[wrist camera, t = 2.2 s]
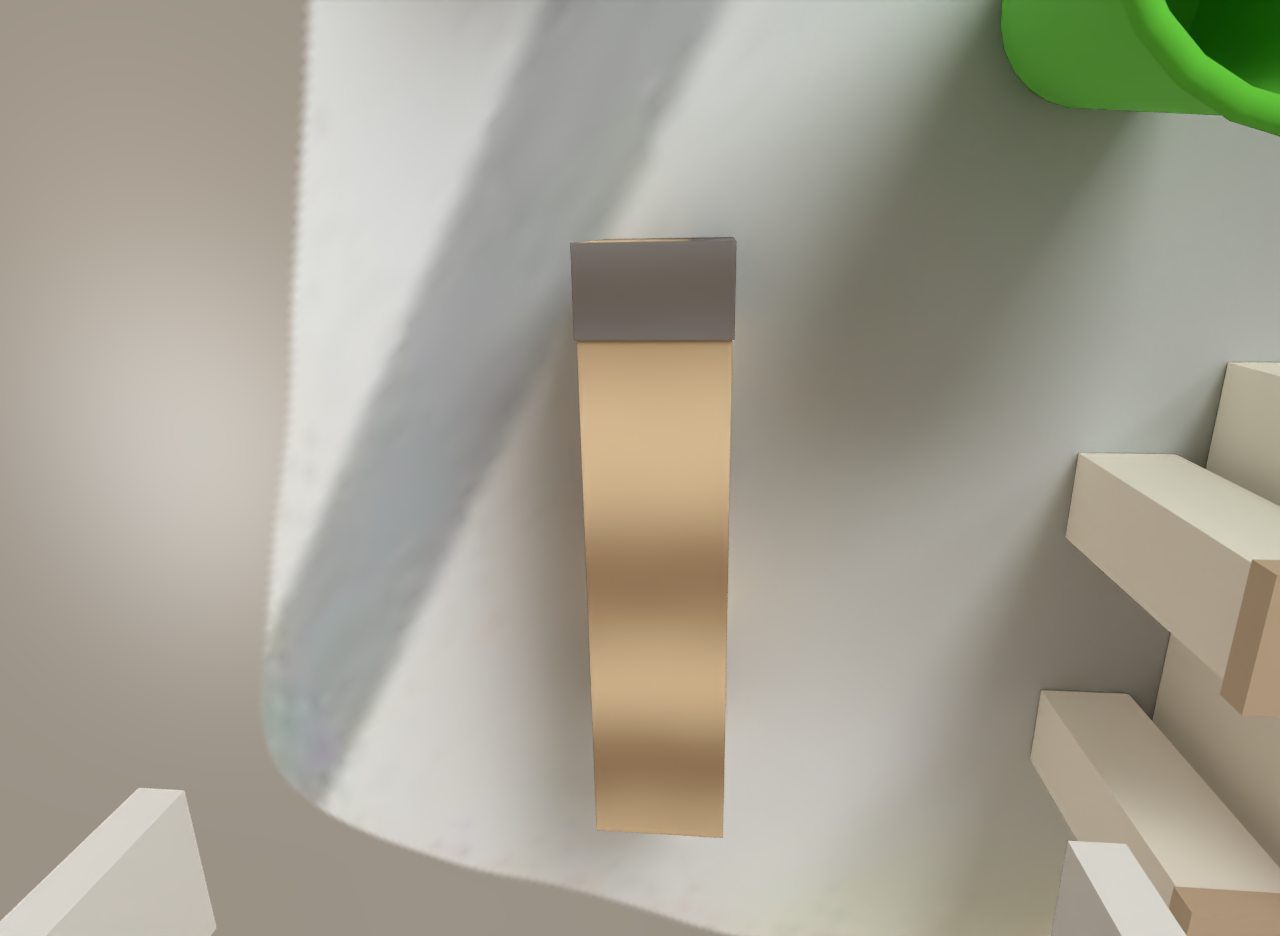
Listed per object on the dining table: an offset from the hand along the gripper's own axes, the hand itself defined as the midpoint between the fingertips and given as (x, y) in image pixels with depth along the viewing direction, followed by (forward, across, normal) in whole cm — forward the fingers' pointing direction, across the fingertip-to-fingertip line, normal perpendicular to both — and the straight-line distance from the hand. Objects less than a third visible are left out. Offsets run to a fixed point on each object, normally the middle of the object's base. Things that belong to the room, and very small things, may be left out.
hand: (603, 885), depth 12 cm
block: (+17, 0, 0) cm, 17 cm away
